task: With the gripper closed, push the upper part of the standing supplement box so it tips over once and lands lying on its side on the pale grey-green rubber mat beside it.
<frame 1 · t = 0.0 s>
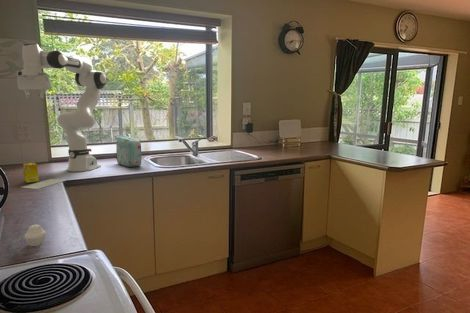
hand: (35, 97, 191), 48 cm above the worktop, tool pointing down, fingers open, 8 cm apart
muffin: (36, 245, 110), on the worktop
supplement box: (31, 182, 192), on the worktop
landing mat: (44, 184, 188), on the worktop
lunch box: (128, 165, 245), on the worktop
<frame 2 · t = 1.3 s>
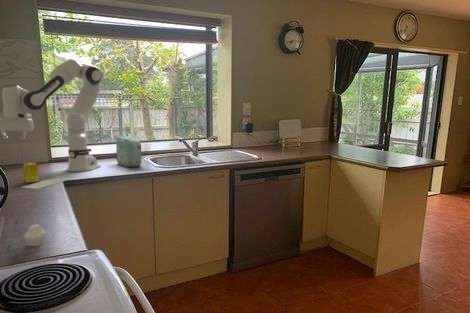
hand: (14, 138, 190), 25 cm above the worktop, tool pointing down, fingers open, 8 cm apart
nothing on the worktop moved.
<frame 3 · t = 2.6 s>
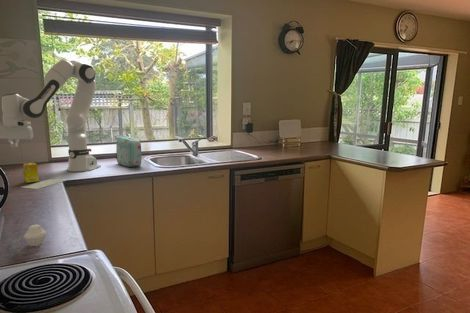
hand: (14, 146, 191), 20 cm above the worktop, tool pointing down, fingers closed
nothing on the worktop moved.
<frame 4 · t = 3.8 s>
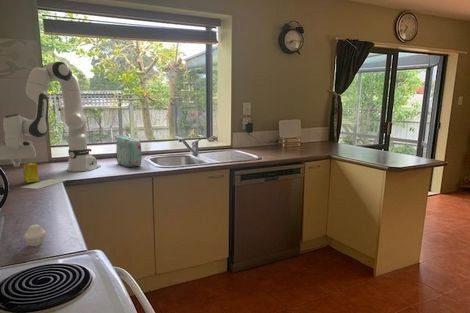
hand: (16, 166, 193), 9 cm above the worktop, tool pointing down, fingers closed
nothing on the worktop moved.
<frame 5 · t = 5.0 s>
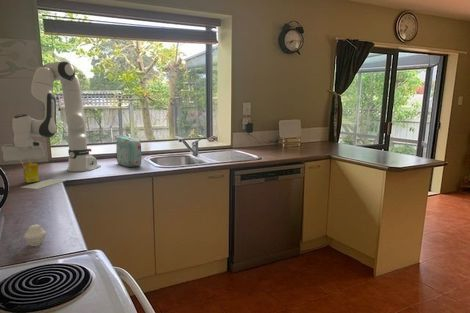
hand: (25, 167, 191), 9 cm above the worktop, tool pointing down, fingers closed
supplement box: (31, 182, 192), on the worktop, touching gripper
everything else where it was.
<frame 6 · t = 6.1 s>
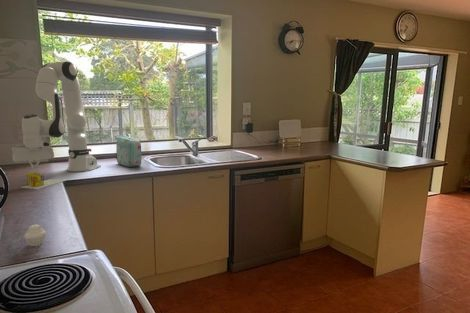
hand: (34, 168, 189), 9 cm above the worktop, tool pointing down, fingers closed
supplement box: (32, 177, 189), point 3 cm above the worktop, touching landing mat
everything else where it was.
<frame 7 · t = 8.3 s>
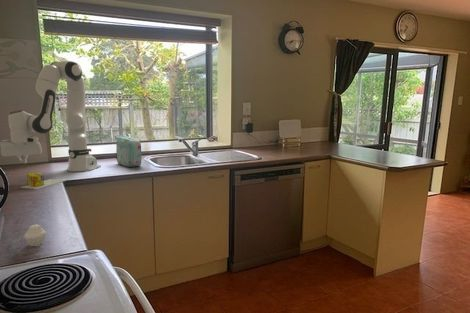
hand: (23, 162, 193), 11 cm above the worktop, tool pointing down, fingers closed
nothing on the worktop moved.
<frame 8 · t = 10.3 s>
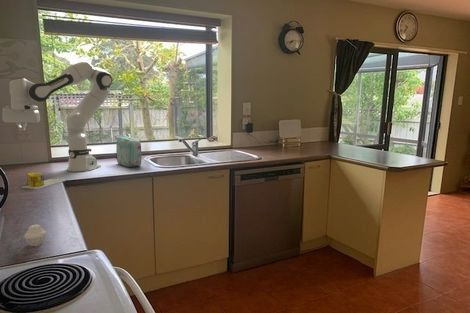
hand: (22, 130, 195), 29 cm above the worktop, tool pointing down, fingers closed
nothing on the worktop moved.
at the end: supplement box tilted 90°; supplement box touching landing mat; the gripper is holding nothing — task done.
